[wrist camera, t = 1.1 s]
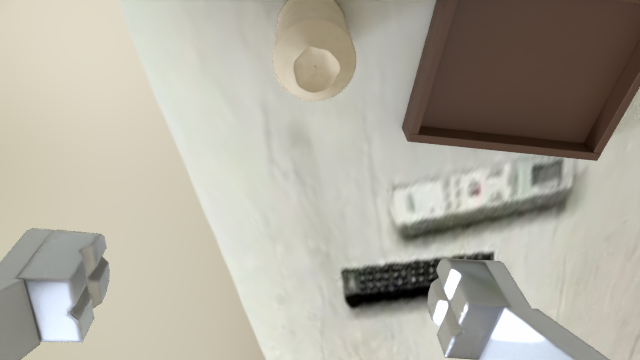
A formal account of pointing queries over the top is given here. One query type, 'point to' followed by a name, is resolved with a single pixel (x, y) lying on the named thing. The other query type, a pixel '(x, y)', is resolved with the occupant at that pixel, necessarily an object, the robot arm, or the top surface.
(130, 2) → the top surface
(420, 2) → the top surface
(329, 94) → the candle
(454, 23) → the tray
